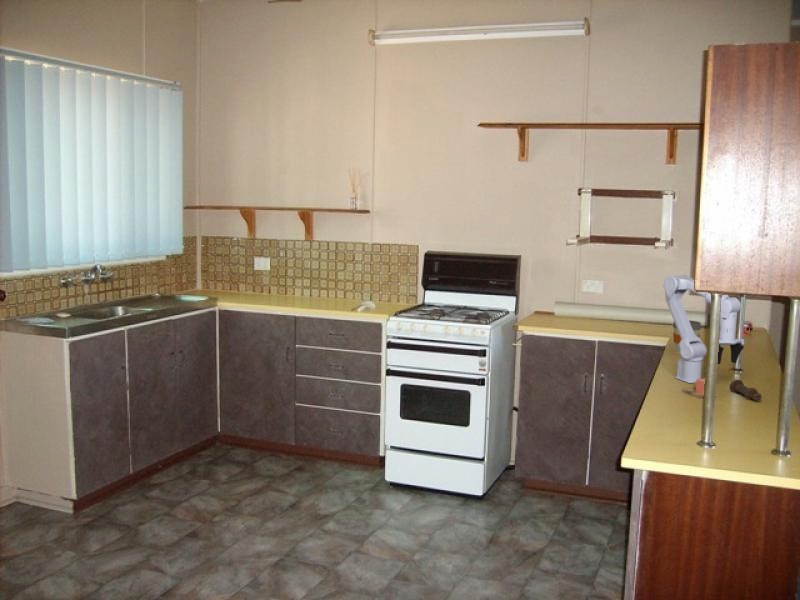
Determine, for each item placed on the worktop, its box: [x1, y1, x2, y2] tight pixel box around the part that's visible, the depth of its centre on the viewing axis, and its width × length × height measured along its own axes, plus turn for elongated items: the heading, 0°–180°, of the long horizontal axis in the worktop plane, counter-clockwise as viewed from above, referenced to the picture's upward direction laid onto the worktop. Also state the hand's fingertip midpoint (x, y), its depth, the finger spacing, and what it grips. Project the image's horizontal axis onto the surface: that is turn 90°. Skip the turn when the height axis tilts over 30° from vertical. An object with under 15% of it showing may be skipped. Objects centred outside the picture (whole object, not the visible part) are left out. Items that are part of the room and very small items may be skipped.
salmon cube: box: [695, 378, 706, 395], centre depth 301 cm, size 5×5×5 cm
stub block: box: [681, 382, 718, 399], centre depth 303 cm, size 10×8×4 cm
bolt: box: [728, 379, 763, 402], centre depth 301 cm, size 6×5×15 cm
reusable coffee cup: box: [672, 319, 702, 353], centre depth 379 cm, size 13×13×15 cm
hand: (725, 363), depth 311 cm, fingers open, 7 cm apart
